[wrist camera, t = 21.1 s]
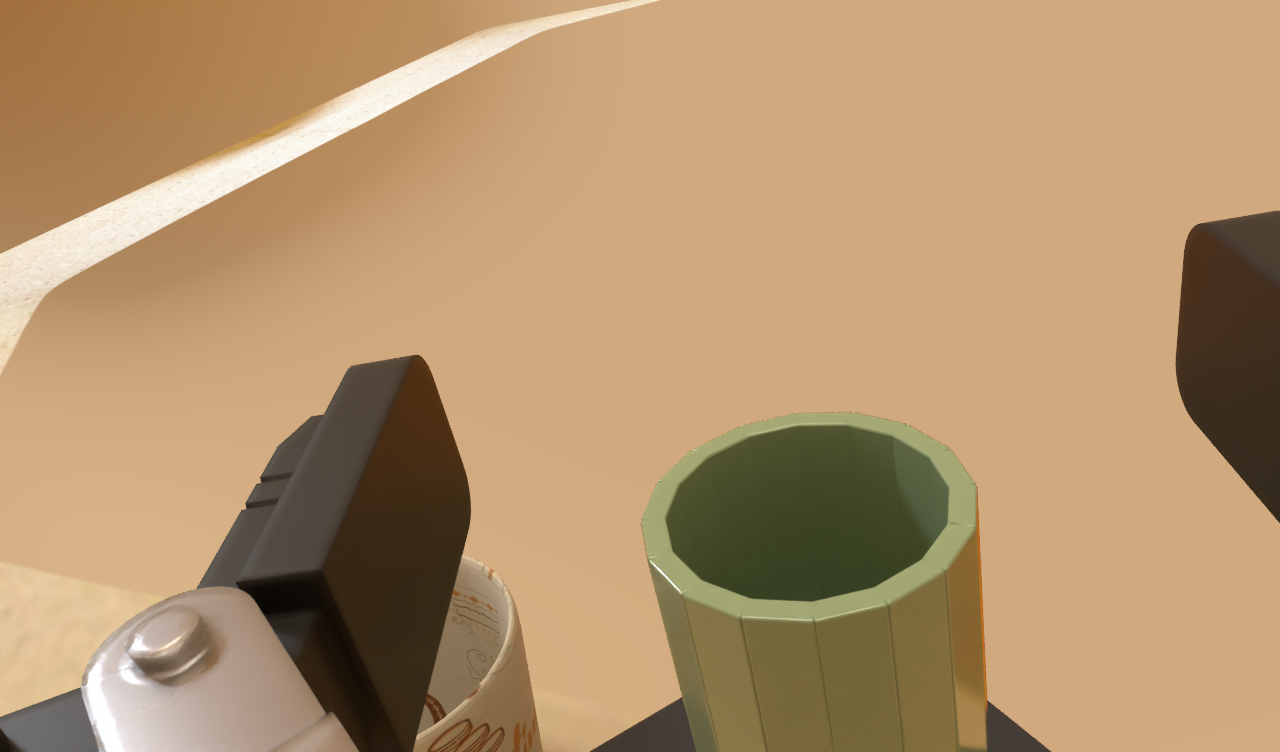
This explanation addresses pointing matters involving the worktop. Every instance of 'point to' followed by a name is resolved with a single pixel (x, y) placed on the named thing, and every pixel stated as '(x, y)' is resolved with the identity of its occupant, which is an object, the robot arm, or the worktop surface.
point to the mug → (480, 673)
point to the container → (667, 748)
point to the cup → (823, 588)
